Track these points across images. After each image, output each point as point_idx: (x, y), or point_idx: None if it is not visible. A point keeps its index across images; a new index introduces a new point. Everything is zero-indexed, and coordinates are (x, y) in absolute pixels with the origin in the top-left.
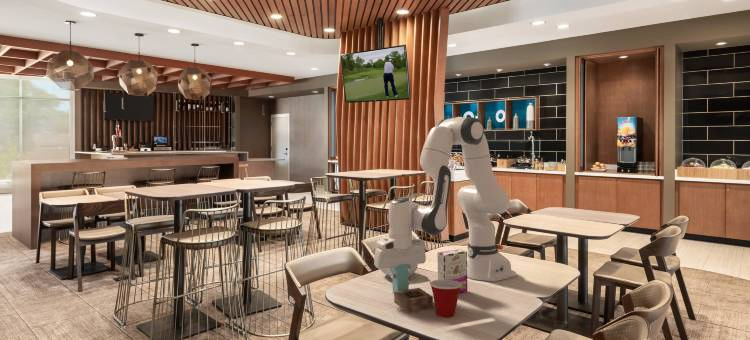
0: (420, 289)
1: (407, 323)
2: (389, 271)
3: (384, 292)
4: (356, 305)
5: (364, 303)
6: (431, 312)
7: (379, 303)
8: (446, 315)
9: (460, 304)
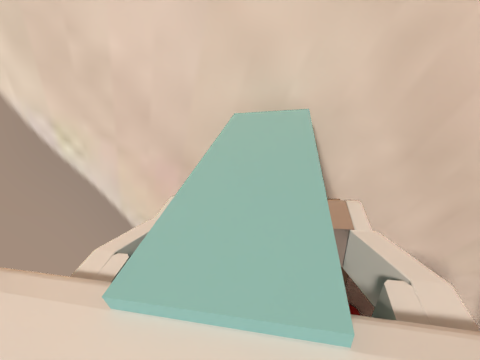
0: (342, 267)
1: None
2: (130, 235)
3: (212, 3)
4: (74, 146)
5: (102, 138)
6: None
7: (162, 160)
8: None
9: (473, 285)
